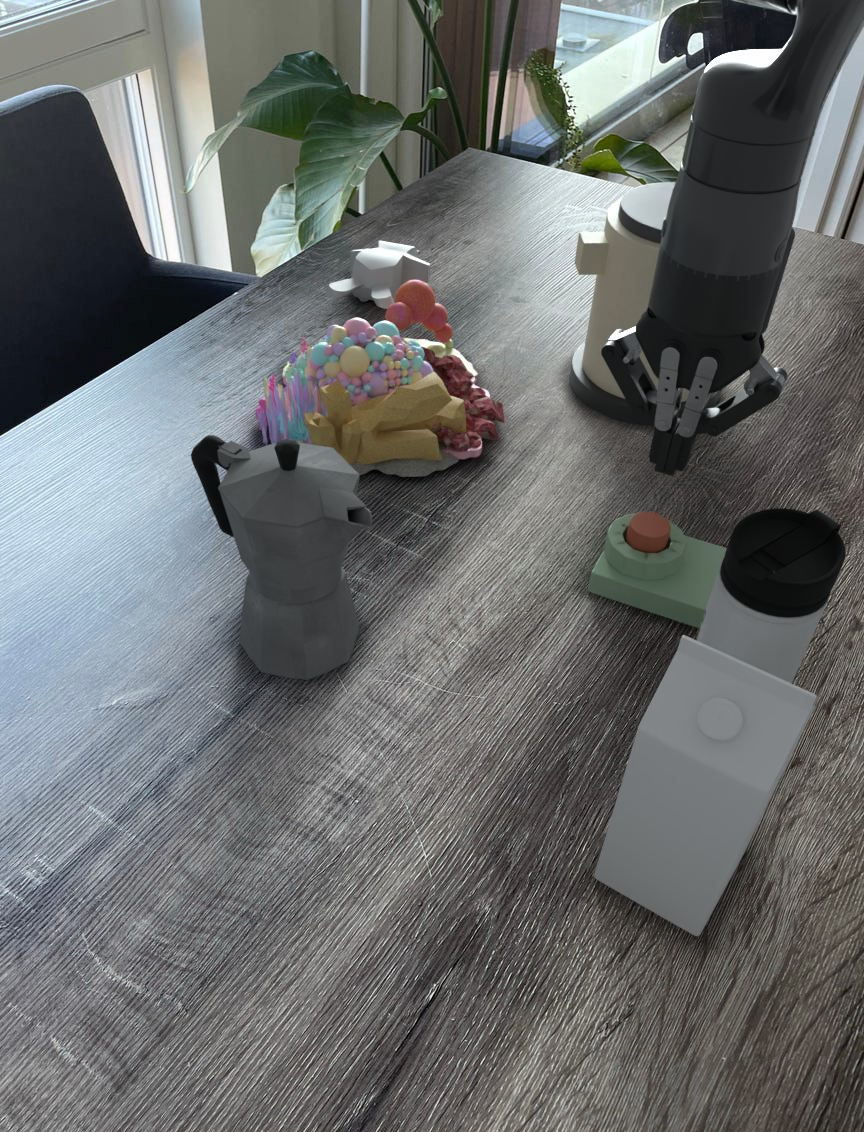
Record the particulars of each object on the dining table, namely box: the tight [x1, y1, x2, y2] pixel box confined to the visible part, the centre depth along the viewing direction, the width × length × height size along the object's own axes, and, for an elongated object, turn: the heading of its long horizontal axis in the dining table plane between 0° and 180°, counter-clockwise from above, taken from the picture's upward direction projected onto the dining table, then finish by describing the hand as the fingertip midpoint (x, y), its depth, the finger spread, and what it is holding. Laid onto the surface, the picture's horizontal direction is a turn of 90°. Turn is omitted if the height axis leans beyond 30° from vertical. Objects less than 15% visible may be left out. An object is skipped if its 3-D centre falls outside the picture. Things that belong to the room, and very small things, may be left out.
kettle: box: [569, 181, 796, 427], centre depth 98 cm, size 16×20×20 cm
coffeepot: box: [190, 434, 373, 681], centre depth 73 cm, size 15×9×18 cm, turn 54°
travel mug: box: [695, 507, 847, 684], centre depth 65 cm, size 6×7×20 cm
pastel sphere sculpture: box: [255, 280, 505, 478], centre depth 98 cm, size 25×24×9 cm
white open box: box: [324, 240, 431, 310], centre depth 115 cm, size 10×5×15 cm
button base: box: [587, 513, 727, 629], centre depth 82 cm, size 14×8×4 cm, turn 63°
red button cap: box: [626, 511, 671, 553], centre depth 82 cm, size 3×3×2 cm
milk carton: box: [593, 634, 818, 937], centre depth 59 cm, size 7×7×19 cm
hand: (666, 467), depth 77 cm, fingers closed
